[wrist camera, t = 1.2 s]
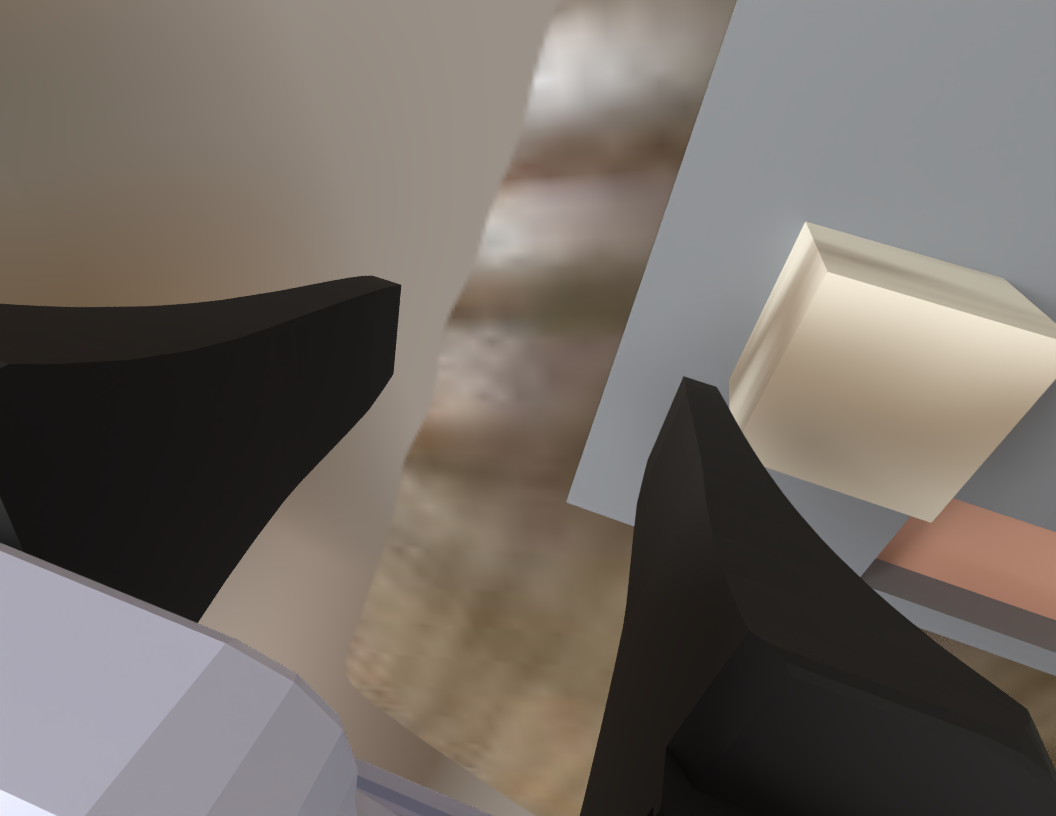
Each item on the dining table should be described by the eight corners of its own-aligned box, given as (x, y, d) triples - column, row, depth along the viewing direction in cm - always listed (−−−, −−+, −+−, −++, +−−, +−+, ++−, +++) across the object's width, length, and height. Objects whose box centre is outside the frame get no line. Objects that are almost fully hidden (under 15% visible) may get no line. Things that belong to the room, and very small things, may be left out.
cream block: (892, 432, 18) (931, 522, 14) (728, 380, 18) (730, 455, 15) (1003, 278, 15) (1082, 346, 12) (805, 221, 15) (827, 271, 12)
